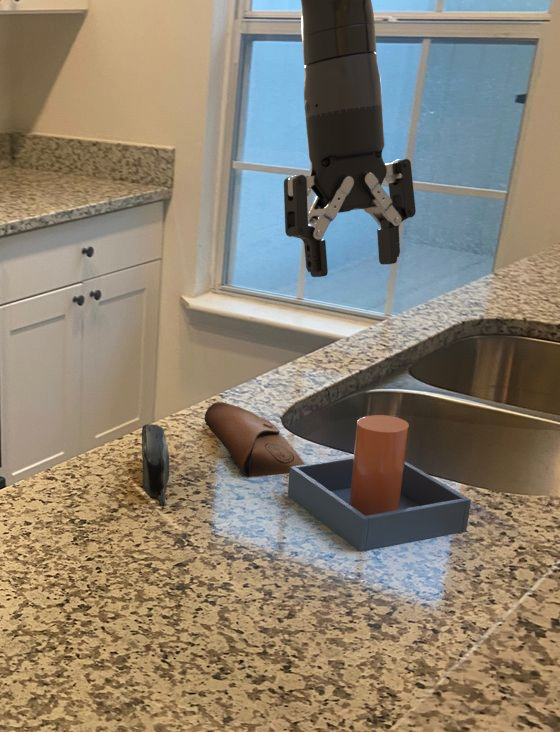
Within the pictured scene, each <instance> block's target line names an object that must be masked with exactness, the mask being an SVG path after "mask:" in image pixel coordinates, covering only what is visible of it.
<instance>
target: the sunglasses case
mask: <svg viewBox="0 0 560 732" xmlns="http://www.w3.org/2000/svg"><path fill="white" fill-rule="evenodd" d="M204 423H205V425H206V427H208V429H209V430H210V431H212V433H213V434H214V435H215V436H216V437H217V439H218V440H219V441H220V443H221V444H222V446H223V447H224V449H225V450H227V452H228V454H229V455H230V456H231V458H232V459H233V461H234V462H235V464H236V465H237V467H239V470H240V471H241V472H242V473H244V474H245V475H246V477H247V479H249V478H256V477H267V476H277V475H289V470H290V467H291V466H298V465H304V464H306V463H305V462H304V460H303V459H302V458H301V456H300V455H299V454H298V453H297V451H296V450H295V449H294V448H293V446H292V445H291V444H290V443H289V442H288V440H287V439H286V438H285V436H283V435H282V434H281V432H280V431H281V430H280V429H279V428H278V427H277V425H276V424H274V423H272V422H271V421H270V420H269V419H267V418H266V417H262V416H259V415H257V414H255V413H253V412H251V411H250V410H247V409H245V408H242V407H240V406H238V405H233V404H231V403H227V402H222V401H216V402H213V403H212V404H211V405H210V406H208V408H207V410H206V411H205V414H204Z"/></svg>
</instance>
